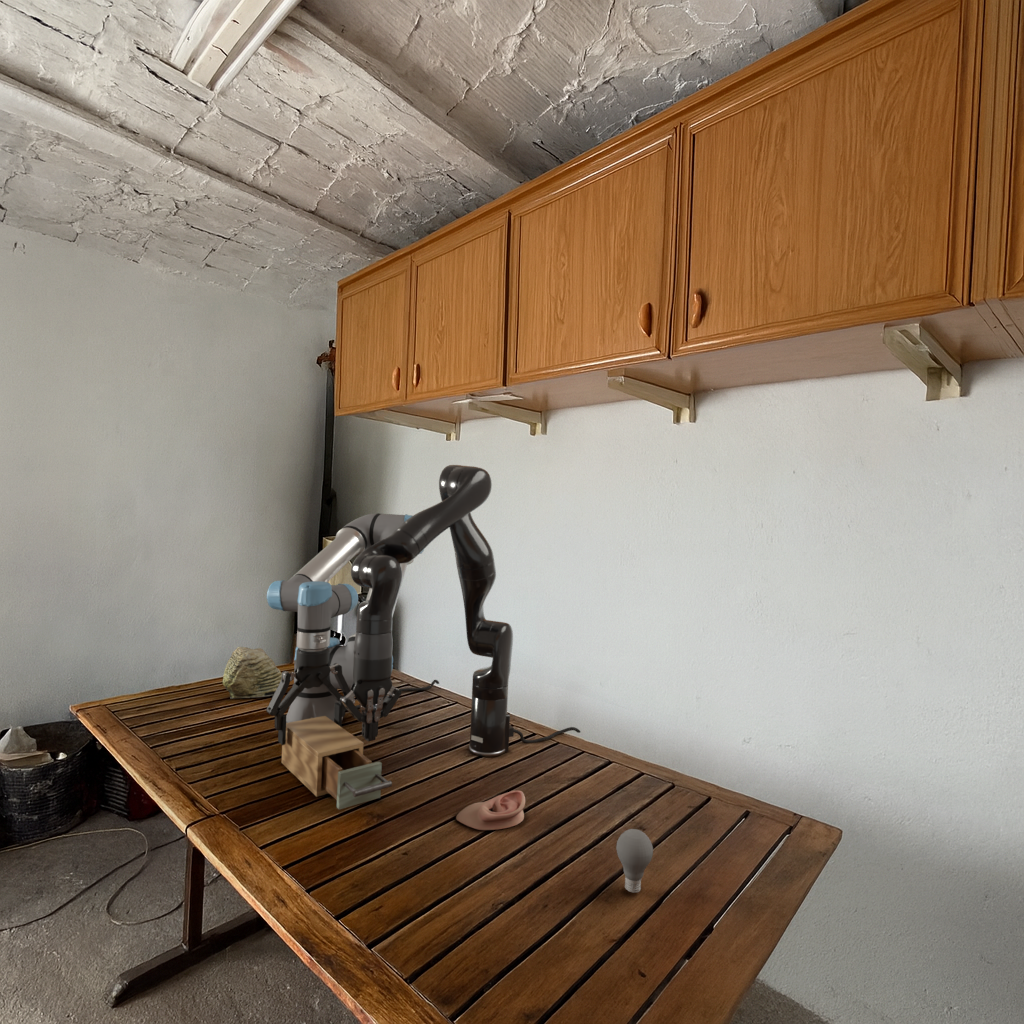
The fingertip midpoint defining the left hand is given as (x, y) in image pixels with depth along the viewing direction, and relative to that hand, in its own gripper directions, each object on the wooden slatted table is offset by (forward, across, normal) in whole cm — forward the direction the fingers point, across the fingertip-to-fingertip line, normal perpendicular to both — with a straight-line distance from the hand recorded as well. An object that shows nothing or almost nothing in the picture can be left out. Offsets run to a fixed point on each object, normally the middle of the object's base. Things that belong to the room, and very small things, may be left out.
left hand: (310, 736), depth 150 cm
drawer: (+5, 0, -20) cm, 21 cm away
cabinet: (+6, 0, -7) cm, 9 cm away
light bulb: (+6, +24, -78) cm, 82 cm away
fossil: (+7, +5, +57) cm, 58 cm away
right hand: (-9, 0, -30) cm, 31 cm away
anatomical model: (+6, +20, -45) cm, 50 cm away
